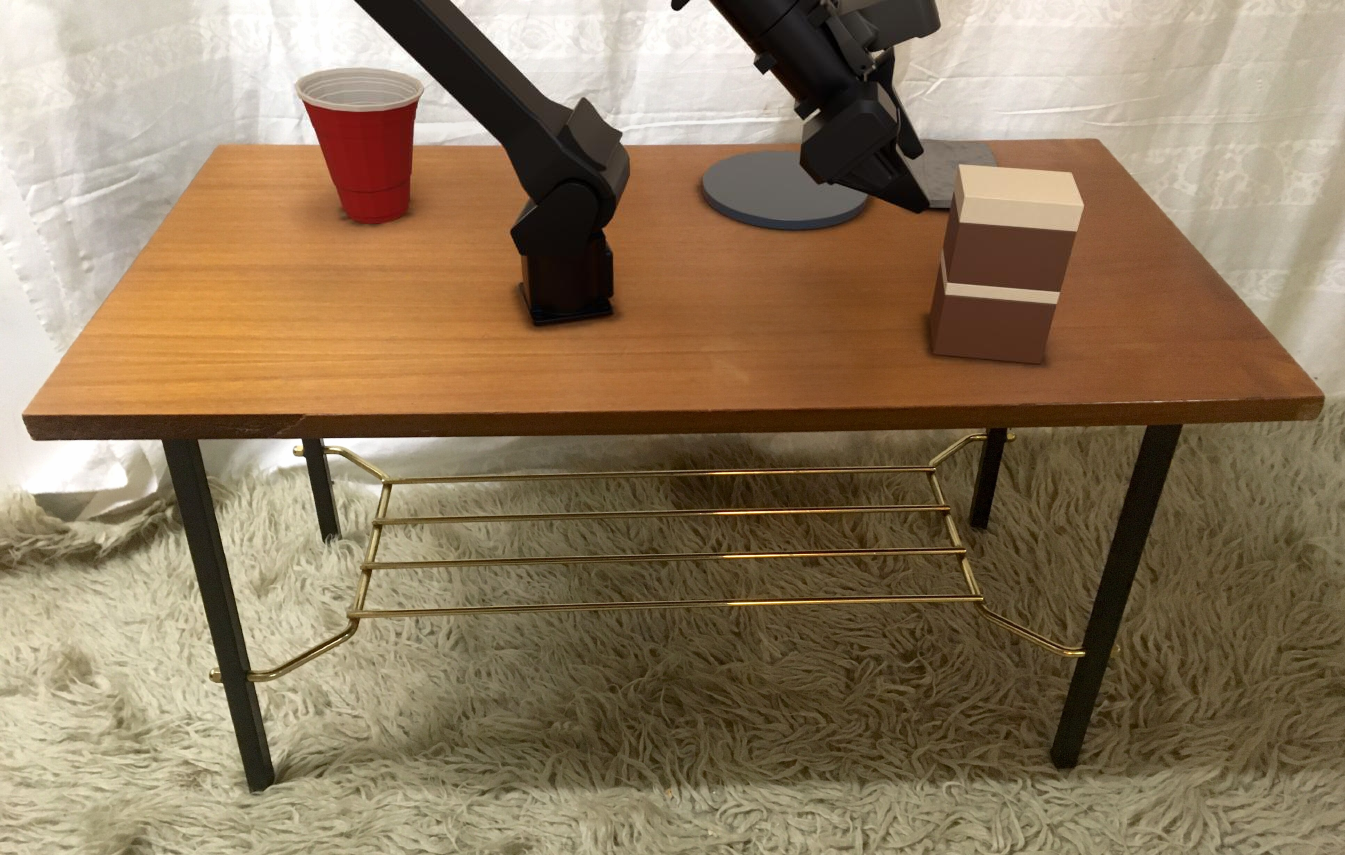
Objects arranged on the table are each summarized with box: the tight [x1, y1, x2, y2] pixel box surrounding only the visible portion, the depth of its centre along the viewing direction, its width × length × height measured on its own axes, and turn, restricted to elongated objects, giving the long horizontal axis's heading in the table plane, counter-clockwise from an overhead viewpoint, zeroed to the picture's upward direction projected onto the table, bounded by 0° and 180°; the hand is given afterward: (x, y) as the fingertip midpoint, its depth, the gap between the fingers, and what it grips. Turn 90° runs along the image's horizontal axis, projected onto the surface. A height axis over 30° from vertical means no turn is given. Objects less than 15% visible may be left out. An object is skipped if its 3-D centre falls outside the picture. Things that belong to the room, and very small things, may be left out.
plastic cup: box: [293, 67, 425, 224], centre depth 95 cm, size 11×11×12 cm
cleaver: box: [905, 138, 999, 209], centre depth 101 cm, size 29×10×2 cm, turn 173°
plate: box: [702, 149, 869, 231], centre depth 103 cm, size 16×16×1 cm
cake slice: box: [929, 164, 1085, 365], centre depth 78 cm, size 8×6×13 cm
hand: (921, 181), depth 75 cm, fingers open, 9 cm apart
